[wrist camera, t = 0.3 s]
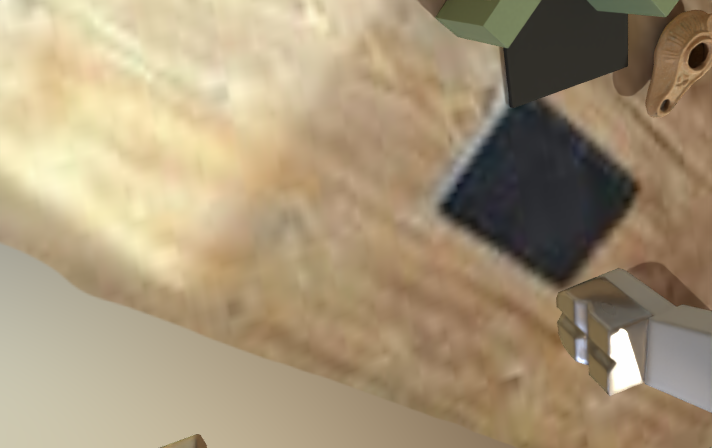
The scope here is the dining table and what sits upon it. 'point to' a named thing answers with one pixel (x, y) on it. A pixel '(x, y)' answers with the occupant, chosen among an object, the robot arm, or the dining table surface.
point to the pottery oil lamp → (679, 60)
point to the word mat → (564, 49)
